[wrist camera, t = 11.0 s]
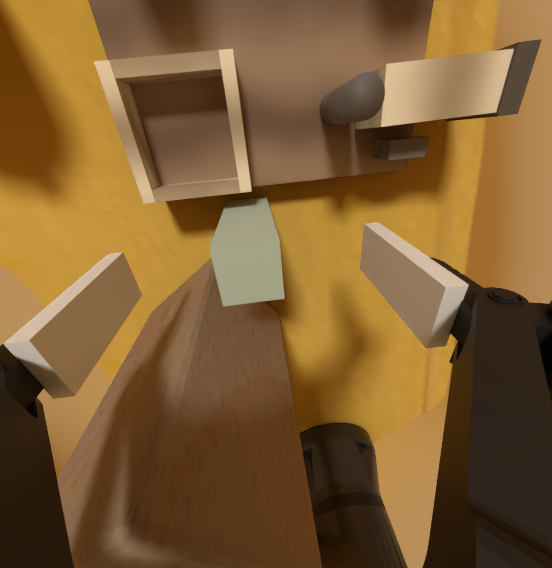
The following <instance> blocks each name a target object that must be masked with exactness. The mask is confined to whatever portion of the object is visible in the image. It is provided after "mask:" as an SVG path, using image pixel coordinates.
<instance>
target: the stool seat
mask: <svg viewBox="0 0 552 568" xmlns="http://www.w3.org/2000/svg"><path fill="white" fill-rule="evenodd" d="M433 1H434V0H89V3H90V7H91V10H92V13H93V16H94V19H95V22H96V25H97V28H98V31H99V34H100V37H101V40H102V43H103V46H104V49H105V52H106V55H107V58H108V60H102V61H94V63H95V66H96V69H97V72H98V74H99V77H100V80H101V83H102V86H103V89H104V92H105V94H106V97H107V100H108V103H109V106H110V109H111V111H112V114H113V117H114V120H115V123H116V126H117V129H118V131H119V134H120V137H121V140H122V143H123V146H124V148H125V151H126V154H127V157H128V160H129V163H130V166H131V168H132V171H133V174H134V177H135V180H136V183H137V185H138V188H139V191H140V194H141V197H142V200H143V203H153V202H162V201H171V200H180V199H189V198H198V197H207V196H216V195H225V194H234V193H243V192H252V187H256V186H265V185H274V184H283V183H292V182H301V181H310V180H319V179H328V178H337V177H346V176H355V175H364V174H373V173H382V172H391V171H400V170H406V167H407V161H408V158H415V157H425V153H426V148H427V143H428V138H429V136H423V137H411V136H412V130H413V124H414V123H408V124H401V125H393V126H385V127H376V128H365V129H355V127H356V122H359V121H365V120H368V119H370V118H372V117H374V116H375V115H376V114H377V113H378V111H379V110H380V108H381V107H382V104H383V102H384V97H385V87H384V83H383V81H382V79H381V78H380V76H379V75H377V74H376V73H374V72H373V71H375V70H376V69H378V68H380V67H382V66H384V65H385V64H390V63H398V62H407V61H415V60H423V59H424V56H425V50H426V44H427V38H428V32H429V25H430V19H431V13H432V7H433Z"/></svg>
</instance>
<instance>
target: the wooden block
mask: <svg viewBox="0 0 552 568" xmlns="http://www.w3.org/2000/svg"><path fill="white" fill-rule="evenodd" d="M57 482H58V487H59V492H60V497H61V503H62V508H63V513H64V518H65V523H66V528H67V534H68V539H69V544H70V549H71V554H72V559H73V564H74V568H322V564H321V558H320V552H319V546H318V540H317V535H316V529H315V523H314V517H313V511H312V505H311V499H310V494H309V488H308V482H307V476H306V470H305V464H304V458H303V452H302V447H301V441H300V435H299V429H298V423H297V417H296V411H295V406H294V400H293V394H292V388H291V382H290V376H289V370H288V365H287V359H286V353H285V347H284V341H283V335H282V329H281V323H280V318H279V314H278V313H277V312H276V311H275V310H274V309H273V308H272V307H270V306H269V305H268V304H267V303H266V302H265V301H262V302H255V303H247V304H239V305H231V306H223V304H222V300H221V296H220V292H219V288H218V283H217V279H216V275H215V271H214V267H213V263H212V259H210V260H209V261H208V262H207V263H206V264H204V265H203V266H202V267H201V268H200V269H199V270H198V271H197V272H196V273H195V274H193V275H192V276H191V277H190V278H189V279H188V280H187V281H186V282H185V283H184V284H182V285H181V286H180V287H179V288H178V289H177V290H176V291H175V292H174V293H173V294H171V295H170V296H169V297H168V298H167V299H166V300H165V301H164V302H163V303H162V304H160V305H159V306H158V307H157V308H156V309H155V310H154V311H153V312H152V313H151V314H150V316H149V318H148V320H147V322H146V323H145V325H144V327H143V329H142V330H141V332H140V334H139V336H138V337H137V339H136V341H135V343H134V345H133V346H132V348H131V350H130V352H129V353H128V355H127V357H126V359H125V360H124V362H123V364H122V366H121V368H120V369H119V371H118V373H117V375H116V376H115V378H114V380H113V382H112V384H111V385H110V387H109V389H108V391H107V392H106V394H105V396H104V398H103V400H102V401H101V403H100V405H99V407H98V408H97V410H96V412H95V414H94V415H93V417H92V419H91V421H90V423H89V424H88V426H87V428H86V430H85V431H84V433H83V435H82V437H81V439H80V440H79V442H78V444H77V445H76V447H75V449H74V451H73V453H72V454H71V456H70V458H69V460H68V462H67V463H66V465H65V467H64V469H63V470H62V472H61V474H60V476H59V477H58V479H57Z"/></svg>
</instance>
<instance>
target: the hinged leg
mask: <svg viewBox="0 0 552 568" xmlns="http://www.w3.org/2000/svg"><path fill="white" fill-rule="evenodd" d="M540 43H541V40H533V41H525V42H518V43H516V44H513V45H510V46H507V47H504V48H502V49H499V50H496V51H490V52H481V53H473V54H465V55H457V56H448V57H440V58H432V59H423V60H415V61H407V62H398V63H390V64H385V65H384V66H382V67H380V68H378V69H376V70H375V71H373V72H374V73H376V74H377V75H379V76H380V78H381V79H382V81H383V83H384V87H385V97H384V102H383V104H382V107H381V108H380V110H379V111H378V113H377V114H376V115H375V116H374V117H372V118H370V119H368V120H365V121H359V122H356V127H355V129H365V128H376V127H385V126H393V125H401V124H408V123H416V122H424V121H432V120H440V119H447V120H446V121H452V120H463V119H473V118H484V117H493V116H494V117H495V116H503V115H511V114H518V111H519V108H520V105H521V102H522V98H523V96H524V93H525V89H526V86H527V83H528V80H529V77H530V74H531V70H532V68H533V64H534V61H535V58H536V55H537V52H538V49H539V46H540Z"/></svg>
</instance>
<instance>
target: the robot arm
mask: <svg viewBox="0 0 552 568" xmlns="http://www.w3.org/2000/svg"><path fill="white" fill-rule="evenodd" d="M360 269H361V270H362V271H363V272H364V274H365V275H366V276H367V277H368V278H369V280H370V281H371V282H372V283H373V284H374V286H375V287H376V288H377V289H378V291H379V292H380V293H381V294H382V295H383V297H384V298H385V299H386V300H387V301H388V303H389V304H390V305H391V306H392V308H393V309H394V310H395V311H396V312H397V314H398V315H399V316H400V317H401V318H402V320H403V321H404V322H405V323H406V324H407V326H408V327H409V328H410V329H411V331H412V332H413V333H414V334H415V335H416V337H417V338H418V339H419V340H420V341H421V343H422V344H423V345H424V346H425V347H426V348H433V347H441V346H446V344H447V341H448V339H449V336H450V333H451V334H452V335H453V336H454V337H455V338H456V339H457V340H458V342H457V344H456V347H455V349H454V352H453V354H452V357H451V359H450V363H453V367H452V374H451V382H450V389H449V396H448V404H447V412H446V419H445V426H444V433H443V442H442V448H441V456H440V463H439V471H438V478H437V486H436V493H435V501H434V508H433V515H432V522H431V530H430V538H429V544H428V550H427V555H426V558H425V562H424V565H423V568H552V301H551V302H550V304H543V303H529V302H528V301H527V299H526V298H524V297H523V296H521V295H519V294H517V293H515V292H513V291H510V290H506V289H502V288H494V287H490V288H483V287H481V286H480V285H478V284H477V283H475V282H474V281H472V280H471V279H469V278H468V277H466V276H465V275H463V274H460V272H459V271H457V270H455V269H453V268H452V267H451V266H449V265H448V264H446V263H445V262H443V261H440V260H438V259H435V258H432V257H430V258H429V257H428V256H426V255H425V254H423V253H422V252H421V251H419V250H418V249H416V248H415V247H413V246H412V245H410V244H409V243H407V242H406V241H405V240H403V239H402V238H400V237H399V236H397V235H396V234H394V233H393V232H391V231H390V230H388V229H387V228H386V227H384V226H383V225H381V224H380V223H378V222H377V223H368V224H364V234H363V243H362V253H361V263H360ZM141 296H142V294H141V291H140V289H139V287H138V285H137V282H136V280H135V278H134V276H133V273H132V271H131V269H130V267H129V264H128V262H127V260H126V258H125V255H124V253H123V252H120V253H111V254H108V255H106V256H105V257H104V258H103V259H102V260H101V261H99V262H98V263H97V264H96V265H95V266H94V267H92V268H91V269H90V270H89V271H88V272H87V273H85V274H84V275H83V276H82V277H81V278H80V279H78V280H77V281H76V282H75V283H74V284H72V285H71V286H70V287H69V288H68V289H67V290H65V291H64V292H63V293H62V294H61V295H60V296H58V297H57V298H56V299H55V300H54V301H53V302H51V303H50V304H49V305H48V306H47V307H45V308H44V309H43V310H42V311H41V312H40V313H38V314H37V315H36V316H35V317H34V318H33V319H31V320H30V321H29V322H28V323H27V324H25V326H23V327H22V328H21V329H20V330H19V331H17V332H16V333H15V334H14V335H13V336H11V337H10V338H9V339H8V340H7V341H6V342H4V343H3V344H2V345H1V346H0V568H74V564H73V559H72V554H71V549H70V544H69V539H68V534H67V528H66V523H65V518H64V513H63V508H62V503H61V497H60V492H59V487H58V482H57V478H56V472H55V467H54V461H53V457H52V451H51V446H50V441H49V436H48V431H47V425H46V420H45V415H44V410H43V405H42V403H41V402H40V401H39V399H37V396H38V395H39V393H40V392H41V391H42V390H43V388H44V389H45V390H46V391H47V392H48V393H49V395H51V397H52V398H53V399H54V398H63V397H70V396H75V395H76V393H77V392H78V390H79V389H80V387H81V386H82V384H83V383H84V381H85V380H86V378H87V377H88V375H89V374H90V372H91V371H92V369H93V368H94V366H95V365H96V363H97V362H98V360H99V359H100V357H101V356H102V354H103V353H104V351H105V350H106V348H107V347H108V345H109V344H110V342H111V341H112V339H113V338H114V336H115V335H116V333H117V332H118V330H119V329H120V327H121V326H122V324H123V323H124V321H125V320H126V318H127V317H128V315H129V314H130V312H131V311H132V309H133V308H134V306H135V305H136V303H137V302H138V300H139V299H140V297H141ZM300 441H301V447H302V452H303V458H304V464H305V470H306V476H307V482H308V488H309V494H310V499H311V505H312V511H313V517H314V523H315V529H316V535H317V540H318V546H319V552H320V558H321V564H322V568H408V567H407V565H406V562H405V560H404V557H403V554H402V551H401V549H400V546H399V543H398V541H397V538H396V535H395V533H394V530H393V527H392V525H391V522H390V519H389V517H388V514H387V512H386V509H385V506H384V504H383V501H382V498H381V495H380V491H379V483H378V474H377V465H376V456H375V450H374V446H373V444H372V441H371V439H370V436H369V434H368V433H367V432H366V431H365V430H364V429H363V428H361V427H358V426H356V425H351V424H342V423H338V424H328V425H323V426H319V427H315V428H312V429H310V430H308V431H306V432H304V433H302V434H300Z"/></svg>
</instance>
